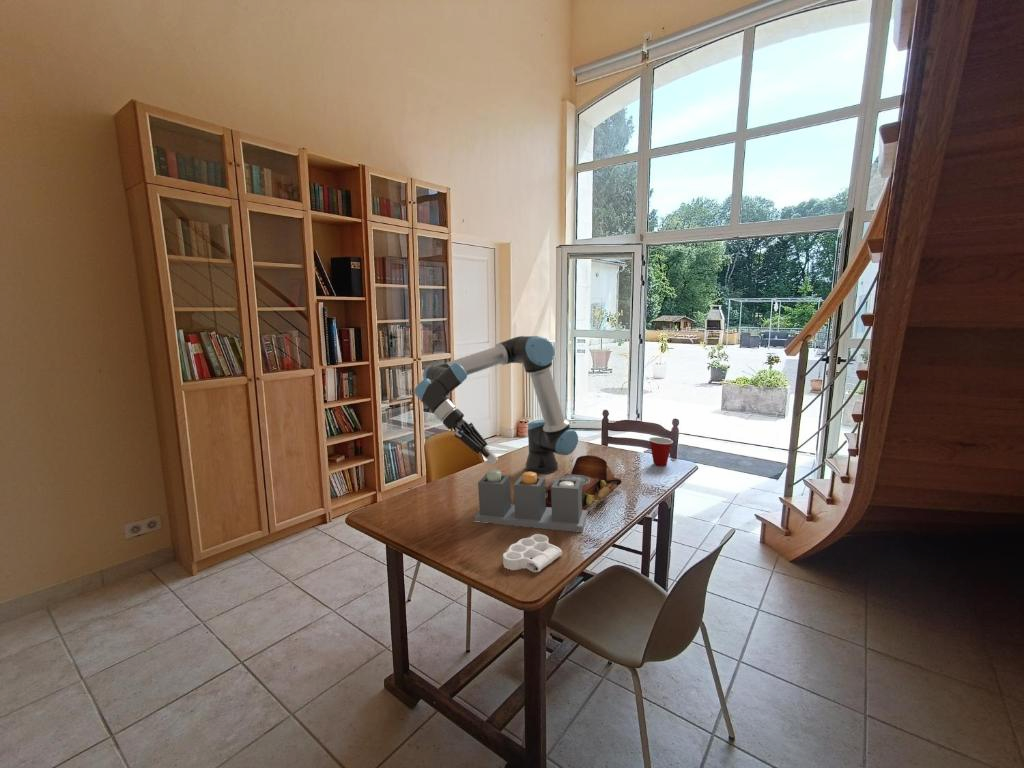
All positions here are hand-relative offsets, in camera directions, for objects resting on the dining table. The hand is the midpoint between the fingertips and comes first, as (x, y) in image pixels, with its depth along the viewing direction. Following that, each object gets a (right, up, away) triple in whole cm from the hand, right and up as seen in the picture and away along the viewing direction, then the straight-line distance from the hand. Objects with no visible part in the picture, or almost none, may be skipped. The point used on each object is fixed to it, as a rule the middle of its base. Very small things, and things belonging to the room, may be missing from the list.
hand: (495, 462), depth 162 cm
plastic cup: (+76, -10, +53) cm, 93 cm away
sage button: (0, -8, +1) cm, 8 cm away
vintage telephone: (+34, -17, +21) cm, 44 cm away
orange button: (+12, -8, -2) cm, 14 cm away
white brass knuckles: (+11, -24, -26) cm, 38 cm away
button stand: (+13, -20, 0) cm, 24 cm away
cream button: (+25, -10, -5) cm, 27 cm away
